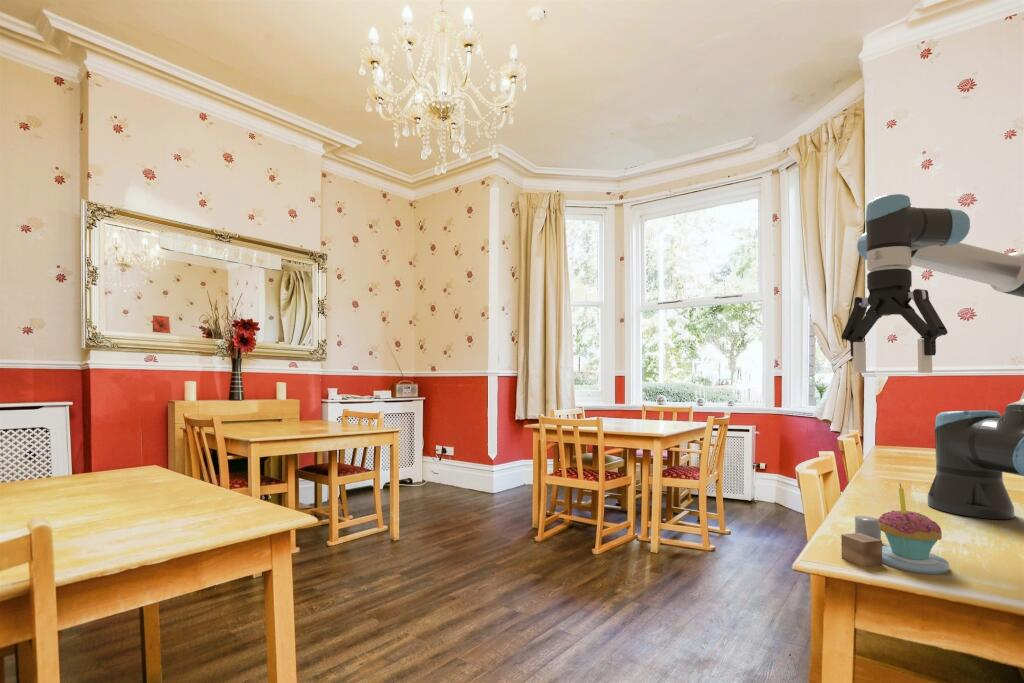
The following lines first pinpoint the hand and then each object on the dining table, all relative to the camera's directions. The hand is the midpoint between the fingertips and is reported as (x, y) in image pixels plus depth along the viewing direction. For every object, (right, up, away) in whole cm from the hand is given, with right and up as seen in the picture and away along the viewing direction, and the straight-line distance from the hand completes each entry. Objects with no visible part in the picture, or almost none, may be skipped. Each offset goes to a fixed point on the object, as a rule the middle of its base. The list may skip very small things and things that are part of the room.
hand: (890, 372), depth 107 cm
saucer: (-12, -30, -21) cm, 39 cm away
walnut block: (-20, -30, -21) cm, 42 cm away
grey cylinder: (-11, -31, -10) cm, 34 cm away
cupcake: (-12, -29, -21) cm, 38 cm away
